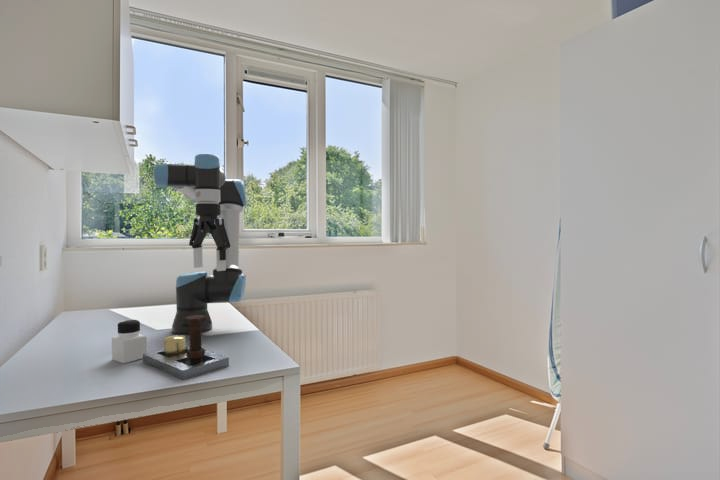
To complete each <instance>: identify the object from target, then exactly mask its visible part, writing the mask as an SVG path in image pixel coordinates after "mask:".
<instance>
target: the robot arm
mask: <svg viewBox="0 0 720 480" xmlns="http://www.w3.org/2000/svg"><path fill="white" fill-rule="evenodd" d="M220 162H221V160H220V156H219V155H217V154H213V153H199V154H195V156H194V164H177V163H176V164H175V163H174V164H173V163H159V164H156V165H154V168H153V181H154V184H155V185H156V187H157V186H158V187H164V188H168V187H170V188H172V189H175V190H176V191H178V192H179V193H182V194H183V196H184V197H185V198H186V199H187V200H189V201H191V202H193V203H195V215H196V216H199V218H198V217H196V218H193V224H192V225H193V226H192V229H191V235H190V238H189V241H188V242H189V243H188V245H189V246H190V247H192V250H193V251H192V253H193V268H194V269H199V268H203V267H204V264H203V242H204V241H205V238H206V235H207V234H210V235H211V237H212V239H213V242H214V243H215V245H216V249H215V250H216V251H215V252H216V266H215V268H213V270H212V274H208V272H207V271H196V272H195V271H194V272H189V273H184V274H179V276H177V278H176V285H175V298H176V301H175V302H176V303H175V305H176V306H175V307H176V312H175V316H174V318H173V322H172V325H171V332H172V333H173V334H178V335H188V334H189V335H190V329H189V324H187V323H184V319H185V318H186V317H188V316H193V315H204V316H205V317H206V322H203V323H202V327H201V333H204V332H207V331H210V330H211V329H212V328H213V322H212V319H211V316H210V312H209V310H208V304H223V303H225V304H226V303H230V304H232V303H239V302H241V301H242V300H243V297H244V294H245V289H246V280H247V279H246V278H247V277H246V274H245V273H243V269H242V268H241V267H240V266H239V260H240V259H239V258H240V255H239V254H240V214H241V213H242V212H243V211H244V207H246V206H247V205H248V203H247V202H248V201H247V193H246V187H245V182H244V181H243V180H241V179H234V178H229V179H228V178H227V177H226V174H225V172H224V169H222V168H221V163H220Z"/></svg>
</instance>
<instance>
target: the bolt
mask: <svg viewBox="0 0 720 480" xmlns="http://www.w3.org/2000/svg"><path fill="white" fill-rule="evenodd" d="M203 322H206V317H205V316H204V315H193V316H188V317H186V318H185V319H184V323H187V324H189V329H190V334H189V345H190V349H189V350H188V351H187V357H188V358H190V365H189V366H192V365H195V364H199V363H202V356H204V354H205V350H206V349H205V348H203V346H202V332H201V327H202V323H203Z"/></svg>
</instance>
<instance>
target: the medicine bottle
mask: <svg viewBox="0 0 720 480" xmlns="http://www.w3.org/2000/svg"><path fill="white" fill-rule="evenodd" d="M145 353H147V335H144V334H141V322H140V320H137V319H125V320H122V321H119V322H118V323H117V335H116V336H112V337H111V360H113V361H116V362H118V363H121V364H123V363H124V364H128V363H130V362H131V361H132V362H135V361H139V360H143V354H145Z"/></svg>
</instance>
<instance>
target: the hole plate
mask: <svg viewBox="0 0 720 480" xmlns="http://www.w3.org/2000/svg"><path fill="white" fill-rule="evenodd" d="M186 340H187V339H186V335H184V334H178V335H177V334H176V335H175V334H174V335H170V336H167V337H164V338H163V349H159V350H155V351H151V352H146V353H145V354H143V359H142V363H144V364H146V365H148V366H150V367H153V368H154V369H158V370H160V371H162V372H164V373H167V374H169V375H171V376H174V377H176V378H178V379H180V380H182V381H184V380H187V379H191V378H194V377H197V376H200V375H203V374H206V373H210V372H213V371H216V370H220V369H223V368H226V367H229V366H230V357H229V356H226V355H222V354H221V353H216V352H213V351H210V350H207V349H204V350H205V354H204V356H202V363H199V364H195V365H192V366H190V358H188V357H187V351H188V350H189V349H190V343H189V344H188V343H186Z"/></svg>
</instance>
